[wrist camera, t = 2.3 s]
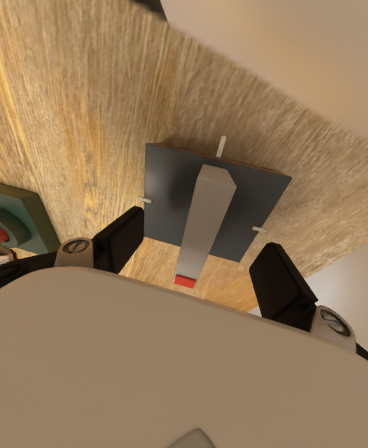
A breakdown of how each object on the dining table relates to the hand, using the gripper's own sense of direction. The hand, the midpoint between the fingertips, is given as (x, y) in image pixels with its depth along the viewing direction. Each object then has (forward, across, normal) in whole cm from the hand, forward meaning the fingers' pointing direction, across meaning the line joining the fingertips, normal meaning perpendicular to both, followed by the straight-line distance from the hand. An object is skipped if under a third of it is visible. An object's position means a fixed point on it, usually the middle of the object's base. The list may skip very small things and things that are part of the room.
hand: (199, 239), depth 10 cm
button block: (+7, +29, +11) cm, 32 cm away
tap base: (+7, 0, 0) cm, 7 cm away
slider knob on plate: (+4, 0, 0) cm, 4 cm away
